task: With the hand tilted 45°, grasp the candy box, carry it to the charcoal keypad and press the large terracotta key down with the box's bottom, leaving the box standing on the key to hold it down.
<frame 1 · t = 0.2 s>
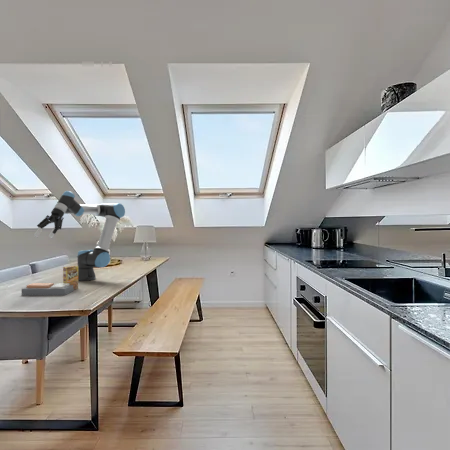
hand: (42, 237, 226), 35 cm above the table, tool tilted 35°, fingers open, 13 cm apart
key: (40, 286, 222), point 4 cm above the table, slide at 0.0 cm
candy box: (70, 289, 235), on the table
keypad: (48, 293, 222), on the table
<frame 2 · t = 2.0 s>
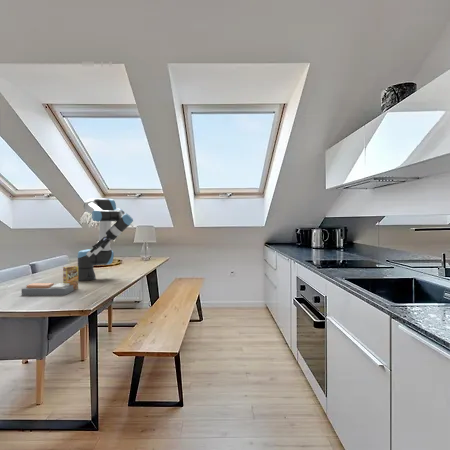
hand: (91, 254, 236), 23 cm above the table, tool tilted 45°, fingers open, 13 cm apart
nothing on the table moved.
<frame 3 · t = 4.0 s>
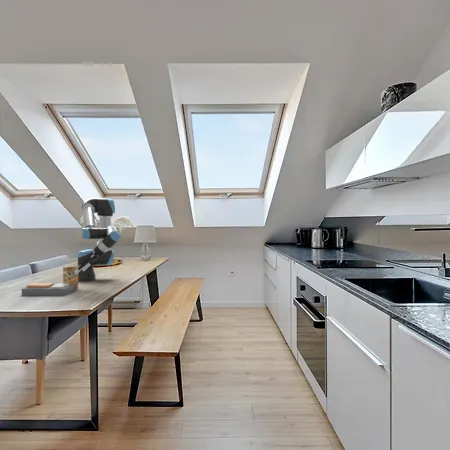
hand: (78, 271, 234), 12 cm above the table, tool tilted 45°, fingers open, 13 cm apart
nothing on the table moved.
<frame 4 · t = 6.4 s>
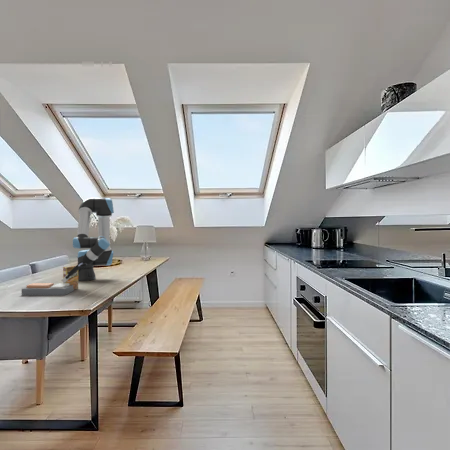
hand: (66, 280, 235), 6 cm above the table, tool tilted 45°, fingers closed on candy box, 9 cm apart
candy box: (70, 289, 235), on the table, touching gripper
everything else where it was.
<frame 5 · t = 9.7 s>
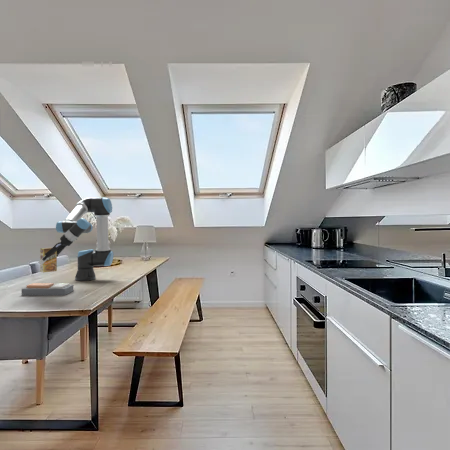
hand: (43, 262, 223), 19 cm above the table, tool tilted 45°, fingers closed on candy box, 9 cm apart
candy box: (48, 272, 224), point 13 cm above the table, touching gripper
everything else where it was.
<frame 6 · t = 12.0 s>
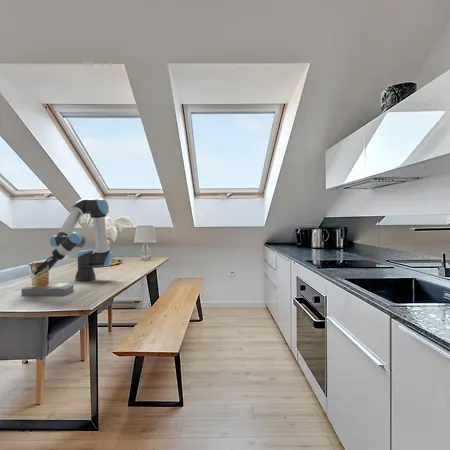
hand: (35, 276, 221), 10 cm above the table, tool tilted 45°, fingers closed on candy box, 9 cm apart
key: (40, 287, 222), point 3 cm above the table, slide at 1.1 cm, touching candy box, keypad
candy box: (40, 286, 221), point 4 cm above the table, touching gripper, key
when the fingers open (10 cm above the table, at t = 13.0 s): candy box stays where it is, resting on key.
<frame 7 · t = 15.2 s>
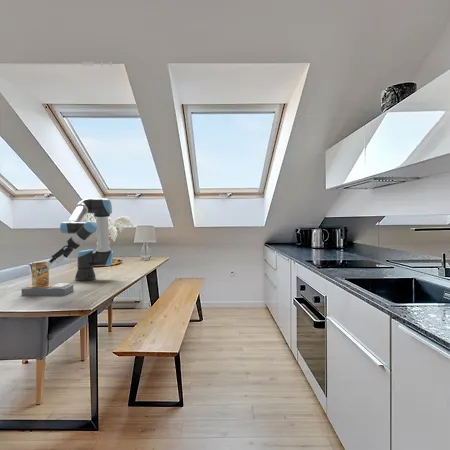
hand: (51, 264, 221), 18 cm above the table, tool tilted 45°, fingers open, 13 cm apart
candy box: (40, 286, 221), point 4 cm above the table, touching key
everything else where it was.
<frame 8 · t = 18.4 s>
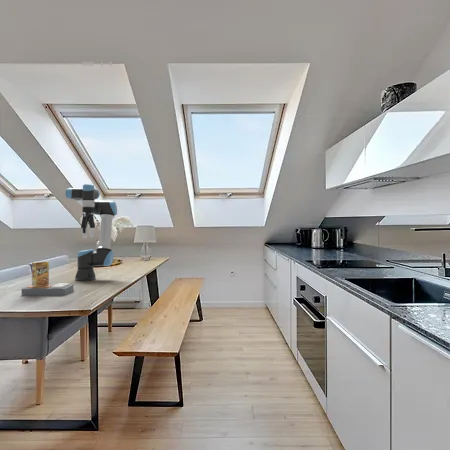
hand: (88, 237, 239), 35 cm above the table, tool pointing down, fingers open, 13 cm apart
nothing on the table moved.
at the end: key slide at 1.1 cm; candy box 0.1 cm from the target spot on the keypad, point 4.3 cm above the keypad's base; candy box tilted 0° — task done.
